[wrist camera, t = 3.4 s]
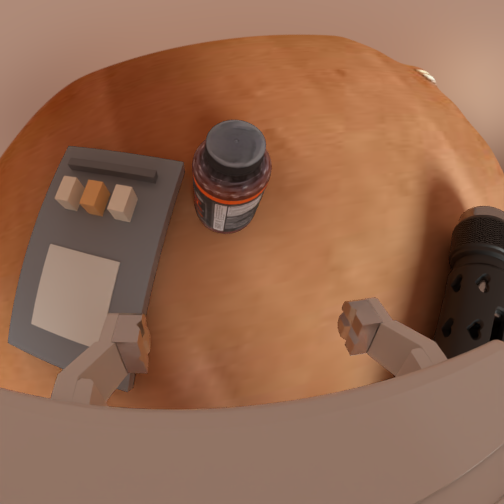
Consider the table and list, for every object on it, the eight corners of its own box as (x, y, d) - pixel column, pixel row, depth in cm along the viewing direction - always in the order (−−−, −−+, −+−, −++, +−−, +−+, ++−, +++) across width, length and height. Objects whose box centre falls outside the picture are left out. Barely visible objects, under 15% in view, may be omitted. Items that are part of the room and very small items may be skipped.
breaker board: (133, 387, 23) (119, 398, 19) (18, 342, 22) (-7, 342, 18) (184, 172, 29) (182, 147, 25) (74, 155, 28) (60, 133, 24)
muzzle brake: (370, 436, 25) (428, 466, 15) (436, 221, 33) (489, 190, 23) (423, 446, 25) (479, 466, 15) (477, 252, 33) (528, 231, 23)
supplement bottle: (190, 186, 29) (185, 113, 18) (247, 177, 30) (267, 104, 19) (201, 241, 28) (198, 186, 17) (261, 229, 29) (292, 172, 18)
